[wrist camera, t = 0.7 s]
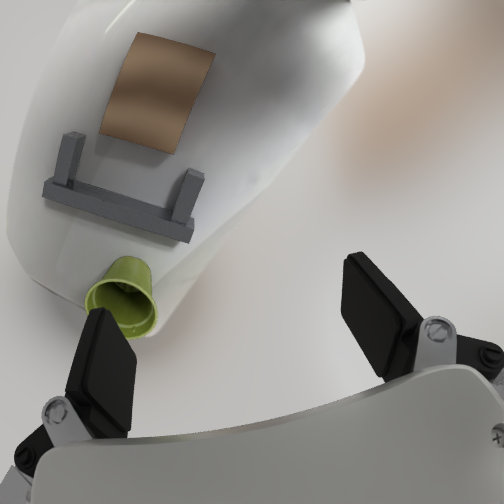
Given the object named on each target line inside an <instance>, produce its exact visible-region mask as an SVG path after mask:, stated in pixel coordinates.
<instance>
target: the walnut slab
mask: <svg viewBox="0 0 504 504" xmlns="http://www.w3.org/2000/svg"><path fill="white" fill-rule="evenodd" d="M214 57H215V53H212V52H209V51H206V50H203V49H200V48H196V47H193V46H190V45H187V44H183V43H180V42H176V41H173V40H169V39H165V38H161V37H157V36H153V35H149V34H144V33H140V32H138V33H137V35H136V37H135V39H134V41H133V43H132V45H131V47H130V50H129V52H128V54H127V56H126V59H125V61H124V63H123V66H122V68H121V71H120V73H119V76H118V78H117V81H116V83H115V86H114V89H113V91H112V94H111V97H110V100H109V103H108V106H107V109H106V112H105V115H104V118H103V121H102V124H101V128H100V131H99V133H100V134H104V135H108V136H111V137H115V138H119V139H122V140H126V141H130V142H133V143H137V144H140V145H143V146H147V147H150V148H154V149H157V150H160V151H164V152H167V153H170V154H173V155H174V152H175V150H176V147H177V145H178V142H179V139H180V137H181V134H182V131H183V129H184V126H185V124H186V121H187V119H188V116H189V114H190V111H191V109H192V106H193V104H194V102H195V99H196V97H197V95H198V92H199V90H200V88H201V85H202V83H203V81H204V79H205V76H206V74H207V72H208V70H209V68H210V66H211V64H212V61H213V59H214Z"/></svg>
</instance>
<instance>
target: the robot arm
mask: <svg viewBox="0 0 504 504" xmlns="http://www.w3.org/2000/svg"><path fill="white" fill-rule="evenodd" d="M342 286H343V287H342V300H341V314H342V317H343V319H344V321H345V322H346V324H347V326H348V327H349V329H350V331H351V332H352V334H353V335H354V337H355V339H356V341H357V342H358V344H359V346H360V347H361V349H362V351H363V352H364V354H365V356H366V358H367V359H368V361H369V363H370V364H371V366H372V368H373V370H374V371H375V373H376V375H377V376H378V377H382V378H383V380H384V382H385V383H384V384H382V385H379V386H376V387H374V388H371V389H368V390H366V391H363V392H360V393H357V394H354V395H352V396H349V397H346V398H343V399H340V400H337V401H335V402H331V403H328V404H325V405H322V406H318V407H315V408H312V409H308V410H305V411H302V412H298V413H294V414H290V415H286V416H282V417H278V418H274V419H270V420H266V421H261V422H257V423H252V424H247V425H241V426H236V427H230V428H225V429H219V430H212V431H205V432H198V433H191V434H181V435H170V436H159V437H141V438H127V435H128V431H130V430H131V420H132V406H133V394H134V383H135V374H136V365H137V359H136V355H135V353H134V351H133V350H132V349H131V347H130V345H129V343H128V341H127V340H126V338H125V336H124V335H123V333H122V331H121V329H120V328H119V326H118V324H117V322H116V321H115V319H114V317H113V315H112V313H111V312H110V310H106V308H104V307H100V308H95V309H91V310H90V311H89V314H88V317H87V320H86V323H85V325H84V329H83V331H82V334H81V337H80V340H79V343H78V346H77V350H76V353H75V356H74V359H73V363H72V366H71V370H70V373H69V377H68V381H67V384H66V389H65V392H66V393H65V397H63V396H57V397H53V398H52V399H50V400H49V401H48V402H47V403H46V404H45V406H44V407H43V410H42V421H43V424H42V425H41V426H40V427H39V428H37V429H36V430H35V431H34V432H33V433H32V434H31V435H29V436H28V437H27V438H26V439H25V440H24V441H23V442H22V443H20V444H19V446H18V447H17V448H16V451H15V454H14V461H15V465H16V466H15V467H14V466H13V465H12V466H11V467H10V469H9V471H8V472H7V474H6V476H5V478H4V479H3V481H2V483H1V484H0V504H504V352H503V350H502V349H501V348H500V347H499V346H498V345H496V344H494V343H492V342H487V341H483V340H479V339H474V338H470V337H466V336H462V335H458V334H457V332H456V328H455V326H454V325H453V324H452V323H451V322H450V321H449V320H448V319H446V318H444V317H440V316H431V317H428V318H426V319H423V317H422V316H421V315H420V314H419V313H418V312H417V310H416V309H415V308H414V307H413V306H412V304H411V303H410V302H409V301H408V300H407V299H406V298H405V297H404V295H403V294H402V293H401V292H400V291H399V290H398V289H397V287H396V286H395V285H394V284H393V283H392V282H391V281H390V280H389V279H388V278H387V277H386V276H385V275H384V274H383V273H382V272H381V271H380V270H379V269H378V267H377V266H376V265H375V264H374V263H373V262H372V261H371V260H370V259H369V258H368V257H367V256H366V255H365V254H364V253H363V252H357V253H353V254H349V255H348V256H347V259H345V260H344V265H343V284H342Z"/></svg>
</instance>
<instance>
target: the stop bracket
mask: <svg viewBox="0 0 504 504" xmlns="http://www.w3.org/2000/svg"><path fill="white" fill-rule="evenodd" d="M85 138H86V135H83V134H79V133H76V132H71V133H67V134H64V135H63V138H62V142H61V146H60V150H59V154H58V159H57V163H56V168H55V173H54V176H53V177H51V178H49V179H48V180H46V181H45V182H44V188H43V194H42V197H44V198H47V199H50V200H53V201H56V202H59V203H62V204H65V205H69V206H72V207H75V208H78V209H81V210H84V211H87V212H90V213H93V214H96V215H99V216H103V217H106V218H109V219H112V220H115V221H118V222H121V223H124V224H128V225H131V226H134V227H137V228H140V229H143V230H146V231H150V232H153V233H156V234H159V235H162V236H166V237H169V238H172V239H175V240H178V241H182V242H185V243H188V244H189V242H190V239H191V237H192V234H193V232H194V218H191V217H190V215H191V212H192V210H193V207H194V205H195V202H196V200H197V197H198V195H199V192H200V190H201V187H202V185H203V182H204V180H205V178H204V173H201V172H198V171H196V170H193V169H190V168H189V169H188V171H187V174H186V176H185V179H184V181H183V184H182V187H181V189H180V192H179V195H178V197H177V200H176V203H175V205H174V208H173V211H170V210H167V209H164V208H161V207H158V206H155V205H151V204H148V203H145V202H142V201H139V200H136V199H133V198H130V197H127V196H123V195H120V194H117V193H114V192H111V191H108V190H105V189H101V188H98V187H95V186H92V185H89V184H86V183H82V182H79V181H76V180H75V176H76V172H77V168H78V163H79V160H80V156H81V152H82V148H83V145H84V141H85Z"/></svg>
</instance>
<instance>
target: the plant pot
mask: <svg viewBox="0 0 504 504" xmlns="http://www.w3.org/2000/svg"><path fill="white" fill-rule="evenodd" d="M118 282H120V283H121V284H122V285H120V284H119V283H118ZM136 288H137V289H136ZM84 305H85V311H86V314H87V316H88V314H89V311H90V310H91V309H95V308H100V307H104V308H106V310H110V312H111V313H112V315H113V317H114V319H115V321H116V322H117V324H118V326H119V328H120V329H121V331H122V333H123V335H124V336H125V338H126V340H132V339H138V338H141V337H143V336H145V335H147V334H148V333H150V332H151V330H152V329H153V328H154V327H155V325H156V322H157V318H158V311H157V307H156V304H155V302H154V300H153V298H152V285H151V272H150V269H149V267H148V266H147V265H146V264H145V263H144V262H143V261H142V260H140V259H137V258H134V257H130V256H125V257H121V258H119V259H117V260H116V261H115V262H114V263H113V265H112V266H111V267H110V269H109V270H108V272H107V273H106V275H105V276H104V277H103V279H102V280H101V281H99V282H97V283H95V284H94V285H93V286H92V287H91V288H90V289H89V291H88V292H87V294H86V297H85V303H84Z"/></svg>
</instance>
